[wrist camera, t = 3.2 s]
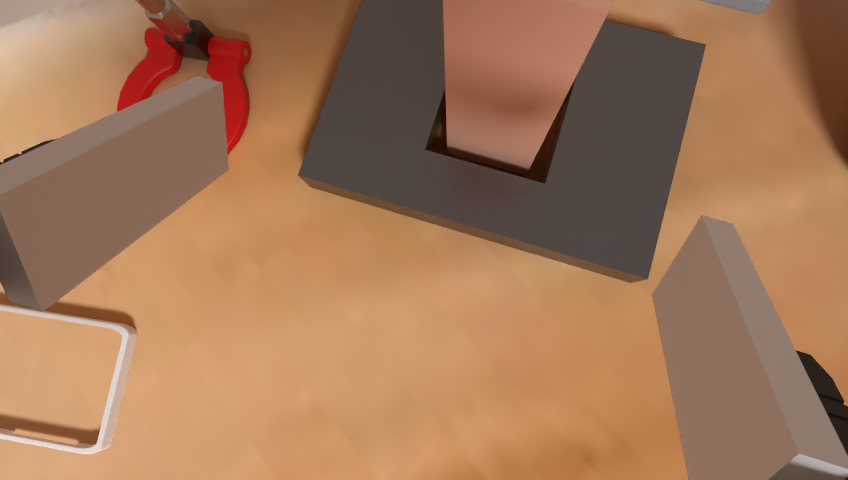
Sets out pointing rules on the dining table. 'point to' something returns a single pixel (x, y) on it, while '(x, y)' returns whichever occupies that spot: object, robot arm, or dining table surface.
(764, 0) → the pad
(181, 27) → the tow hook
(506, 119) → the peg
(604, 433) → the dining table surface
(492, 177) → the socket block
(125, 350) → the phone case
